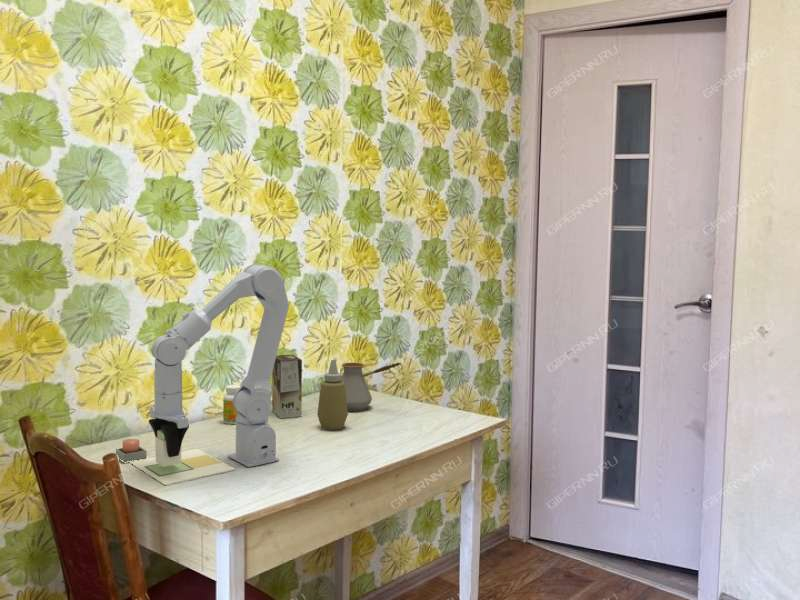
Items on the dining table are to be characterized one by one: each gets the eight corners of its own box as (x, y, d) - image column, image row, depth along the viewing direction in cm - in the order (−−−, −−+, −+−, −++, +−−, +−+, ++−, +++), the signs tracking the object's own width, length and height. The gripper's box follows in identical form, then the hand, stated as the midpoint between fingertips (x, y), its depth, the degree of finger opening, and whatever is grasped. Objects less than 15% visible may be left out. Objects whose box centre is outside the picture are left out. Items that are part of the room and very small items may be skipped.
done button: (142, 452, 171) (142, 441, 171) (126, 455, 169) (126, 444, 169) (135, 448, 174) (135, 437, 174) (120, 451, 172) (120, 440, 171)
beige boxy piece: (181, 463, 164) (181, 431, 164) (163, 466, 162) (163, 434, 161) (173, 458, 167) (172, 427, 167) (155, 461, 165) (155, 430, 164)
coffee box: (302, 416, 211) (303, 359, 209) (279, 418, 208) (280, 360, 207) (292, 409, 219) (293, 353, 218) (270, 410, 217) (271, 355, 215)
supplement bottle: (219, 422, 203) (219, 386, 202) (232, 418, 208) (232, 383, 207) (234, 425, 200) (234, 389, 199) (248, 421, 205) (248, 385, 204)
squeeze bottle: (350, 424, 205) (351, 358, 203) (344, 432, 197) (346, 363, 195) (320, 422, 205) (321, 356, 203) (314, 430, 197) (314, 362, 195)
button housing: (146, 459, 171) (146, 450, 171) (124, 463, 168) (124, 454, 168) (137, 453, 175) (137, 445, 175) (115, 457, 172) (115, 449, 172)
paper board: (235, 470, 165) (235, 468, 165) (164, 485, 155) (164, 484, 155) (197, 450, 179) (197, 448, 179) (129, 463, 168) (129, 461, 168)
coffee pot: (325, 409, 219) (325, 358, 218) (344, 401, 230) (345, 352, 228) (392, 419, 211) (393, 366, 209) (408, 410, 221) (410, 359, 219)
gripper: (136, 387, 166) (137, 448, 167) (165, 400, 155) (165, 465, 156) (167, 383, 170) (167, 442, 172) (197, 396, 160) (197, 459, 161)
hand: (168, 453), depth 164 cm, fingers closed on beige boxy piece, 4 cm apart
